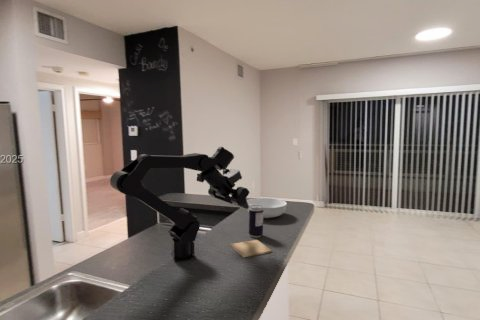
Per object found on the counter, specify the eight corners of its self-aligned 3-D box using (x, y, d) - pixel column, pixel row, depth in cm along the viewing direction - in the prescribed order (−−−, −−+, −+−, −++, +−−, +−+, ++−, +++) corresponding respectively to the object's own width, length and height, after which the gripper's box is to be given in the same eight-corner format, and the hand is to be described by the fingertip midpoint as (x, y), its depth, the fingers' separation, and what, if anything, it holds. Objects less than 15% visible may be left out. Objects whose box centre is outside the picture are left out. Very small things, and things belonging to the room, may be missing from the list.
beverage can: (261, 233, 122) (262, 204, 120) (263, 238, 116) (264, 208, 115) (248, 233, 122) (248, 204, 120) (249, 238, 116) (249, 208, 115)
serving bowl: (285, 210, 157) (285, 198, 156) (287, 223, 136) (288, 208, 135) (246, 209, 159) (246, 196, 158) (242, 221, 138) (243, 206, 137)
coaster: (243, 257, 98) (243, 255, 98) (230, 245, 108) (230, 244, 108) (271, 252, 103) (271, 250, 103) (256, 241, 113) (256, 239, 113)
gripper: (245, 165, 100) (268, 192, 108) (214, 160, 114) (236, 185, 122) (226, 191, 95) (251, 217, 104) (197, 182, 110) (221, 206, 118)
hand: (240, 205), depth 112 cm, fingers open, 9 cm apart
